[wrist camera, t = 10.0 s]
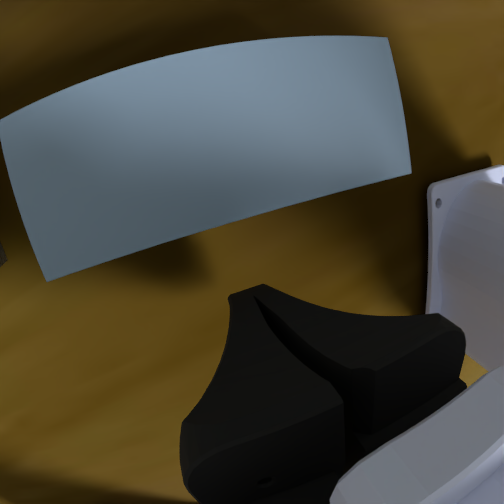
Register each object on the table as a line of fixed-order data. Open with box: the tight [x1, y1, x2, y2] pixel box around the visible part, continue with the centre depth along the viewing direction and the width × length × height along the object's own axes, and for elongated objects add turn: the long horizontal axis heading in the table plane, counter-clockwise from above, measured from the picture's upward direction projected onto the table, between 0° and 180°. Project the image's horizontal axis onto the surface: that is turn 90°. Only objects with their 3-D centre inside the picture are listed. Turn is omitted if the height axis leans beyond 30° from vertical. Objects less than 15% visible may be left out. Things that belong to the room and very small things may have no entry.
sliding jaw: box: [0, 36, 412, 282], centre depth 9 cm, size 4×10×5 cm, turn 103°
